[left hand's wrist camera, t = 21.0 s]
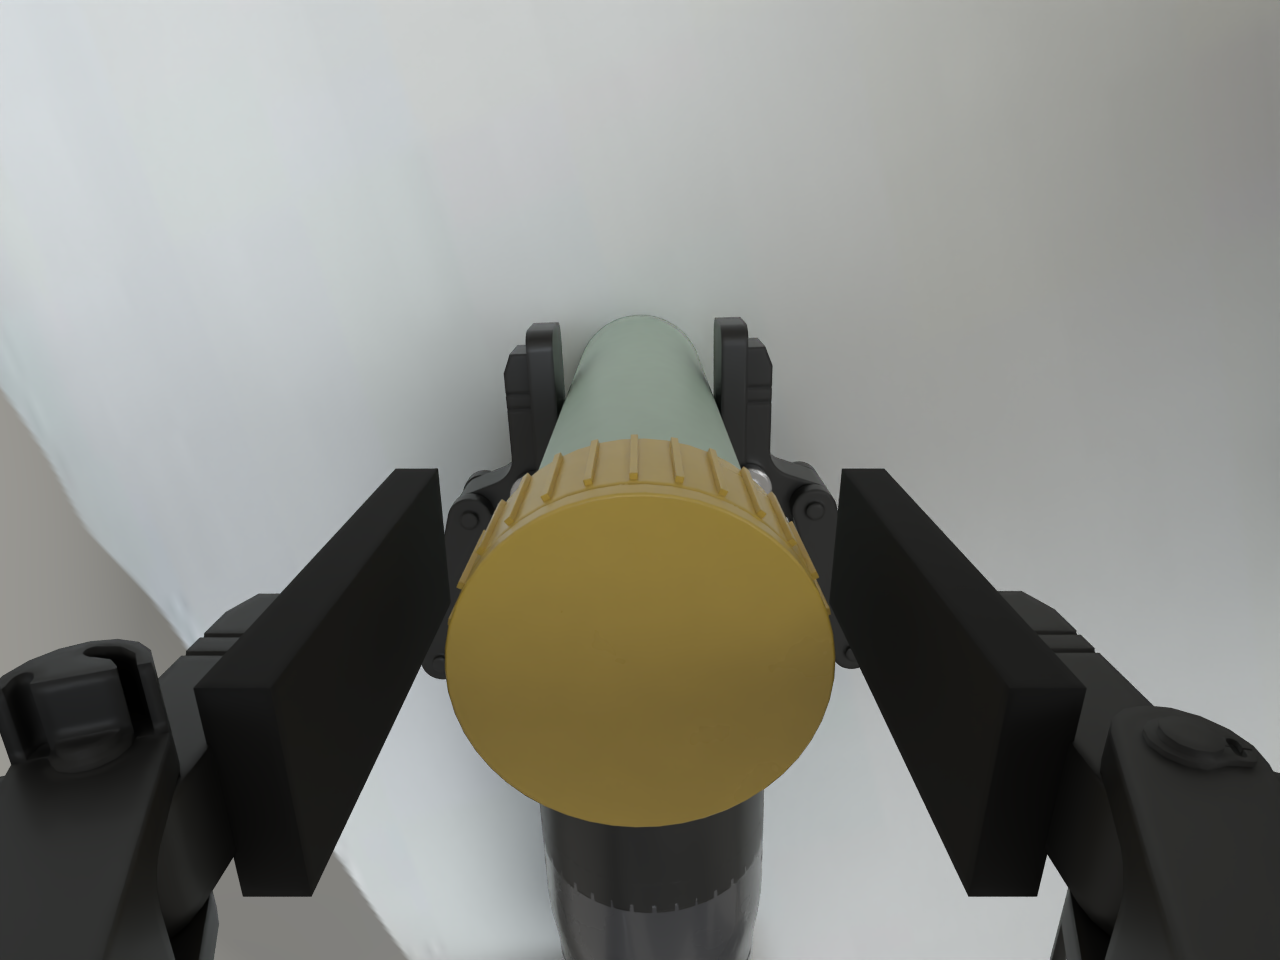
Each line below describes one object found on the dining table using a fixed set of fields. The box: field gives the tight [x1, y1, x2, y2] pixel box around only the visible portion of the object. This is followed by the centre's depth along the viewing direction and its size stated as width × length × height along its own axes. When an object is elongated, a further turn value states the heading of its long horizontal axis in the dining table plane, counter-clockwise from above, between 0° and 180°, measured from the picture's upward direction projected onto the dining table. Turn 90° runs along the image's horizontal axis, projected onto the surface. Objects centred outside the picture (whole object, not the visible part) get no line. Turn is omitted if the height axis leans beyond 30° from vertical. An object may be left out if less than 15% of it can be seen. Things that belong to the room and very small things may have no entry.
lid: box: [445, 434, 835, 827], centre depth 11 cm, size 5×5×2 cm
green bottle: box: [539, 315, 741, 470], centre depth 19 cm, size 4×4×17 cm
